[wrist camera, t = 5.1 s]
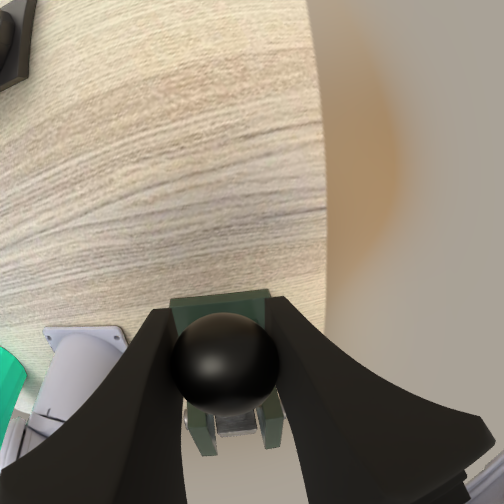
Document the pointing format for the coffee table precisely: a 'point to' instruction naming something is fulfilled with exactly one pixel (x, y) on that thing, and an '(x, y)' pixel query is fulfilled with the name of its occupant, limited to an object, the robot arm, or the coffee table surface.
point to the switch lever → (226, 369)
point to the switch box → (15, 41)
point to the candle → (9, 387)
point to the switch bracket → (254, 309)
